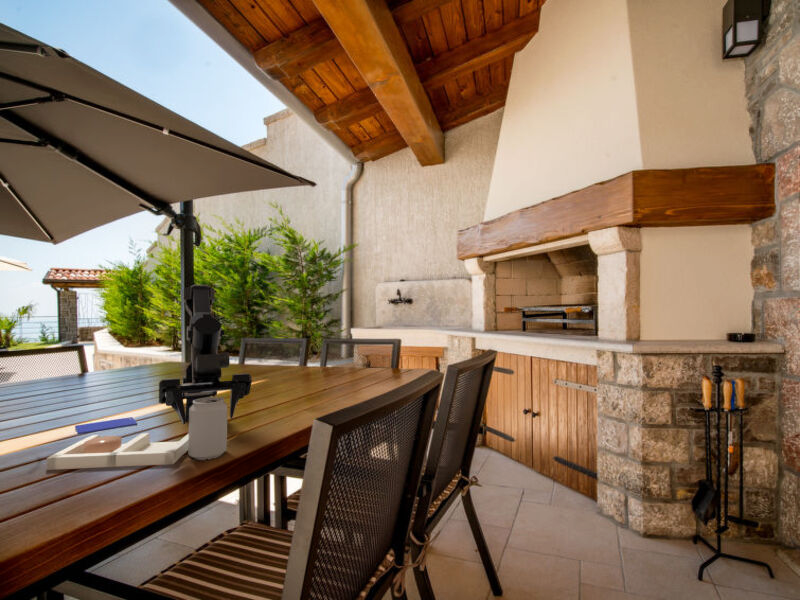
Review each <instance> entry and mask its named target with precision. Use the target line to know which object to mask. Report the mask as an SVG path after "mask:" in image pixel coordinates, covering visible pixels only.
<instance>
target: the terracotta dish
mask: <svg viewBox="0 0 800 600" xmlns="http://www.w3.org/2000/svg"><path fill="white" fill-rule="evenodd" d="M122 440H123V439H122V436H120V435H119V436H118V435H107V436H100V437H98V438H94V439H91V440H88V441H86V442H84V454H87V453H111V452H113V451H115V450H116V449H118V448H120V447H121V444H122Z"/></svg>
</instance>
